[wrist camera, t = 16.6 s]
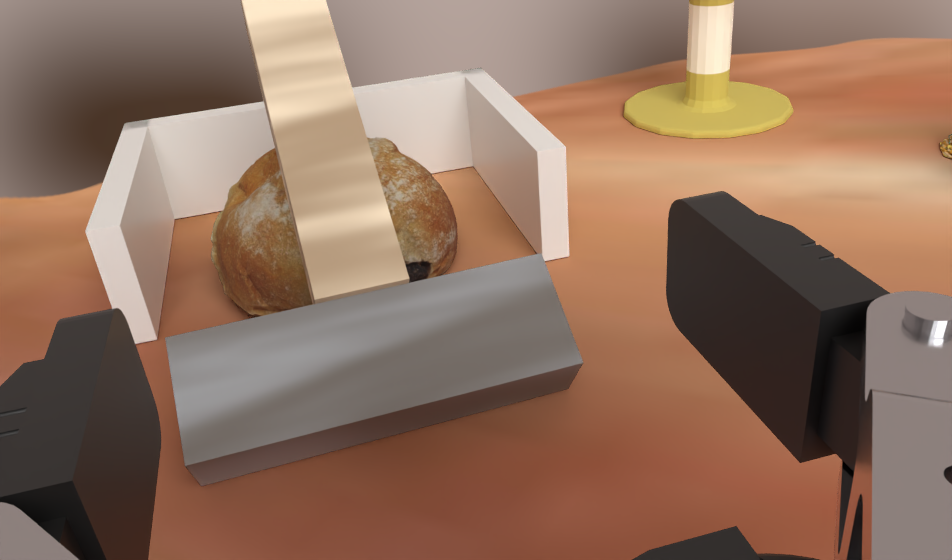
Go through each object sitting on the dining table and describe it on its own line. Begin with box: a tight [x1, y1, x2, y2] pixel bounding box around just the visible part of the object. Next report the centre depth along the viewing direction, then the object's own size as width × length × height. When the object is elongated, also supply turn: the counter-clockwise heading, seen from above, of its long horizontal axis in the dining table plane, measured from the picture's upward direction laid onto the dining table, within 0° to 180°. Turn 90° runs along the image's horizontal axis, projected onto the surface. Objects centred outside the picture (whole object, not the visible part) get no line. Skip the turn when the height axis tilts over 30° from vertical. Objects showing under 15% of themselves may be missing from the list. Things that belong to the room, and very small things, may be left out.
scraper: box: [165, 0, 583, 486], centre depth 29 cm, size 3×12×18 cm
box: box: [85, 68, 569, 344], centre depth 39 cm, size 13×18×5 cm
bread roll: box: [211, 137, 457, 317], centre depth 35 cm, size 10×10×8 cm
